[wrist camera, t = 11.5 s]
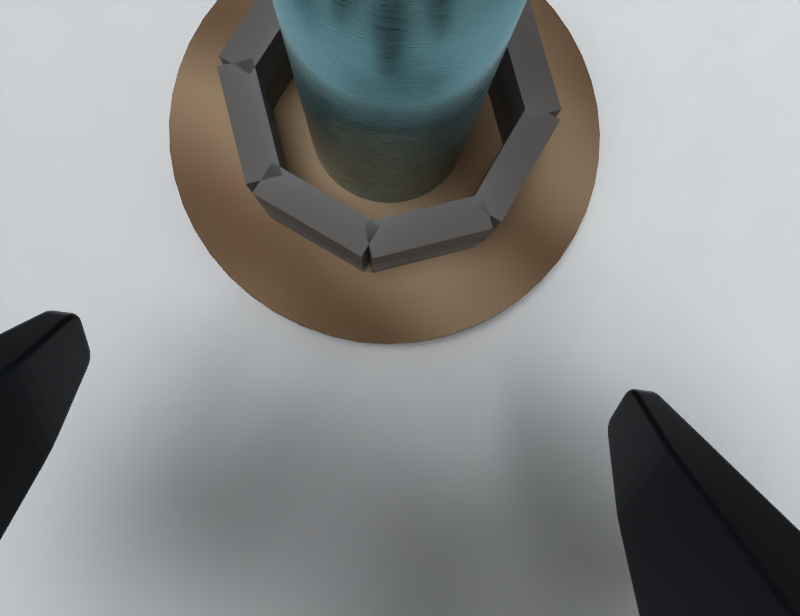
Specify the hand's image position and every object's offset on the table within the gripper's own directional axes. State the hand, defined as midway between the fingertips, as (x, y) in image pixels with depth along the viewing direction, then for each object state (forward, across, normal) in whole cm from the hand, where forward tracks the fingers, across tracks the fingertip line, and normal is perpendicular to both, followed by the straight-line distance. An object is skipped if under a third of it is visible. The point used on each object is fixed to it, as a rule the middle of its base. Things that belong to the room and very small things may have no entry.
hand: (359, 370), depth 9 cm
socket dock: (+12, 0, +1) cm, 12 cm away
